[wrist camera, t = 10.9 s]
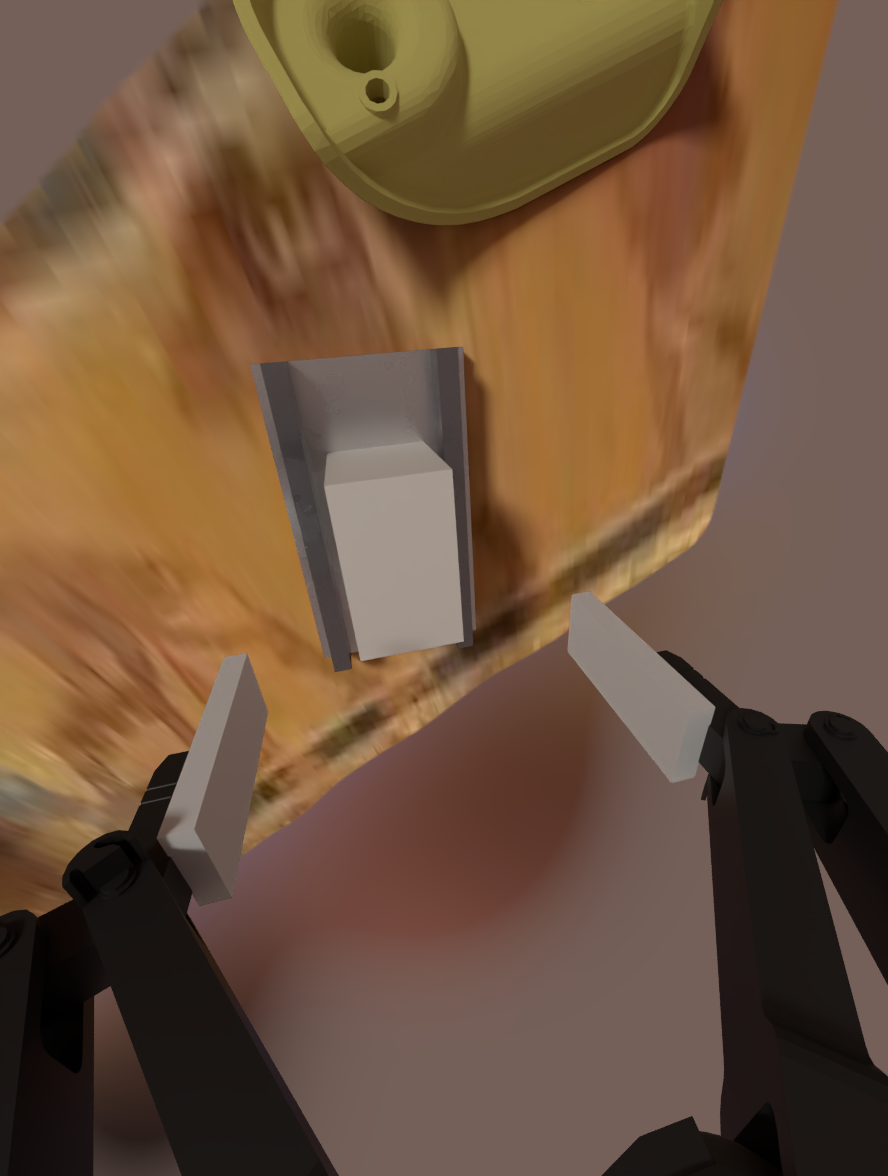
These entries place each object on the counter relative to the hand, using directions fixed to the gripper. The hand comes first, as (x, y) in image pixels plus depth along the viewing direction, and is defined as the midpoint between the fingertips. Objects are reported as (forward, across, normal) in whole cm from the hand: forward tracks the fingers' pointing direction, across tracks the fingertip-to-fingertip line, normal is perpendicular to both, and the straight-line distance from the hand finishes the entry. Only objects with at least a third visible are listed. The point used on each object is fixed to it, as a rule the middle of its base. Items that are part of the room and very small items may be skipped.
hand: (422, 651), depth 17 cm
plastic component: (+17, +7, +23) cm, 29 cm away
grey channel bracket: (+16, 0, 0) cm, 16 cm away
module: (+15, 0, 0) cm, 15 cm away
